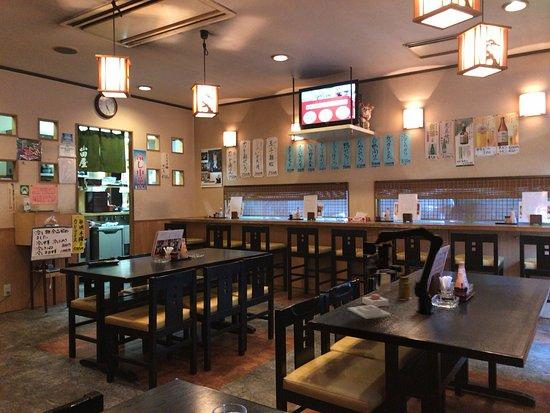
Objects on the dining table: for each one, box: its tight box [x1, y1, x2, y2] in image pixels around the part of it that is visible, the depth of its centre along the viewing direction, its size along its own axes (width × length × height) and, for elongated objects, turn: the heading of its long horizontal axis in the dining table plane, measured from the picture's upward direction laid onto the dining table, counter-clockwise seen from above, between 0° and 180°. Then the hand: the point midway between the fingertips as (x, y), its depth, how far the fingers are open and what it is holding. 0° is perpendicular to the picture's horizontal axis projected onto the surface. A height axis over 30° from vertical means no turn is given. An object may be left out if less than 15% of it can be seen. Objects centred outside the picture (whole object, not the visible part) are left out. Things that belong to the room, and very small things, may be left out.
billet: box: [375, 272, 391, 292], centre depth 220 cm, size 5×5×8 cm
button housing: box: [362, 296, 390, 308], centre depth 233 cm, size 10×10×3 cm
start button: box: [370, 293, 381, 300], centre depth 233 cm, size 5×5×3 cm
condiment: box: [392, 275, 413, 301], centre depth 246 cm, size 7×8×12 cm
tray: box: [347, 305, 392, 320], centre depth 216 cm, size 18×14×2 cm
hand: (383, 286), depth 220 cm, fingers closed on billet, 5 cm apart
